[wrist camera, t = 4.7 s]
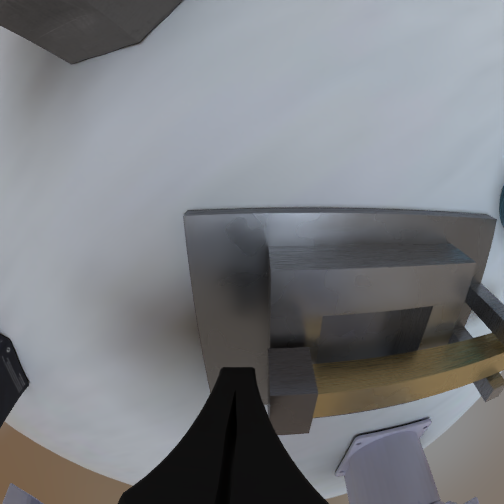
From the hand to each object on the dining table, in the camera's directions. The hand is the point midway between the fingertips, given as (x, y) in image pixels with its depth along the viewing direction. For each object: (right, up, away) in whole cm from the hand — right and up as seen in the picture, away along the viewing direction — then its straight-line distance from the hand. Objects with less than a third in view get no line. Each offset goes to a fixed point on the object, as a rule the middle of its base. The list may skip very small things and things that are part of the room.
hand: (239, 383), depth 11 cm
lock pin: (+9, 0, 0) cm, 9 cm away
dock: (+6, +2, +4) cm, 7 cm away
